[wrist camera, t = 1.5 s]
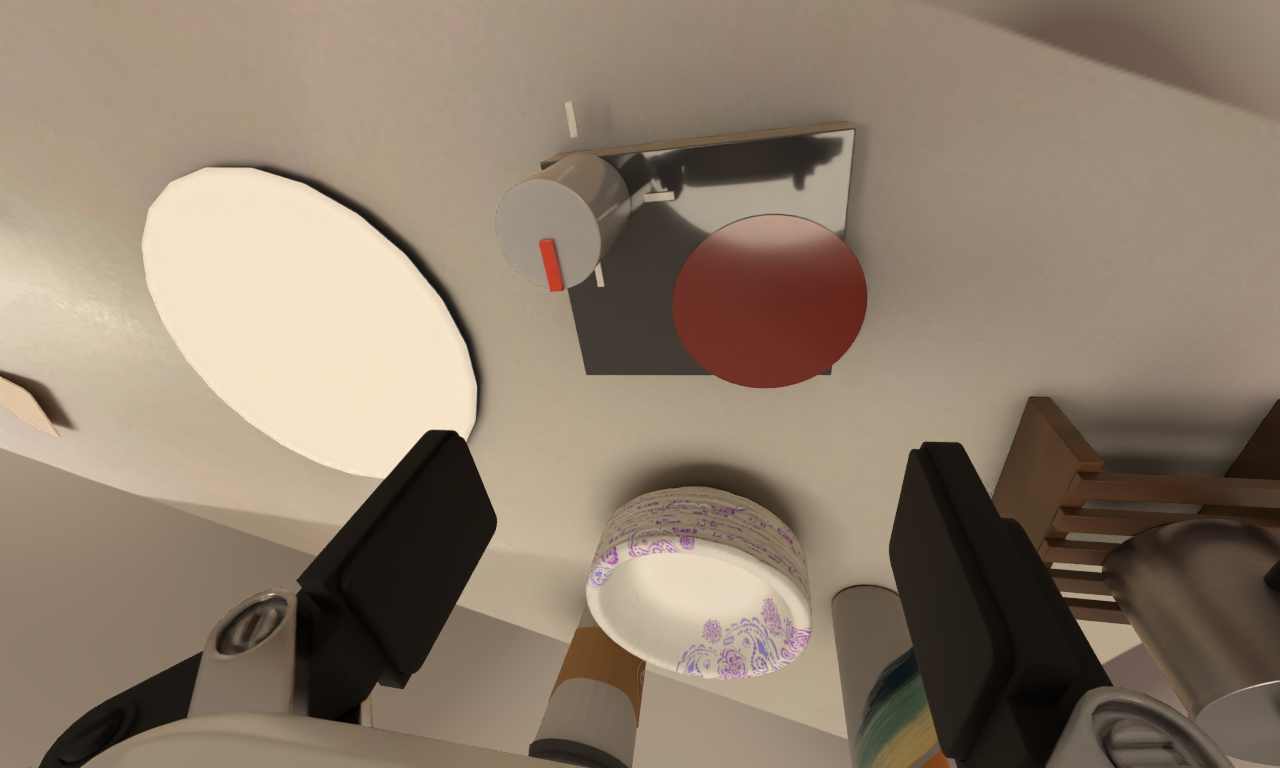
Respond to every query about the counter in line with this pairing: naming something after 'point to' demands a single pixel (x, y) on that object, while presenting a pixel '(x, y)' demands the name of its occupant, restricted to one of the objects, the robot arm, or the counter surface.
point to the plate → (306, 318)
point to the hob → (695, 228)
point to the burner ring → (769, 301)
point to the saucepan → (1210, 624)
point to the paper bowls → (701, 584)
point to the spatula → (24, 406)
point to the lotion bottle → (882, 683)
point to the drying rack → (1118, 498)
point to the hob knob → (563, 221)
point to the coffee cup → (593, 703)
